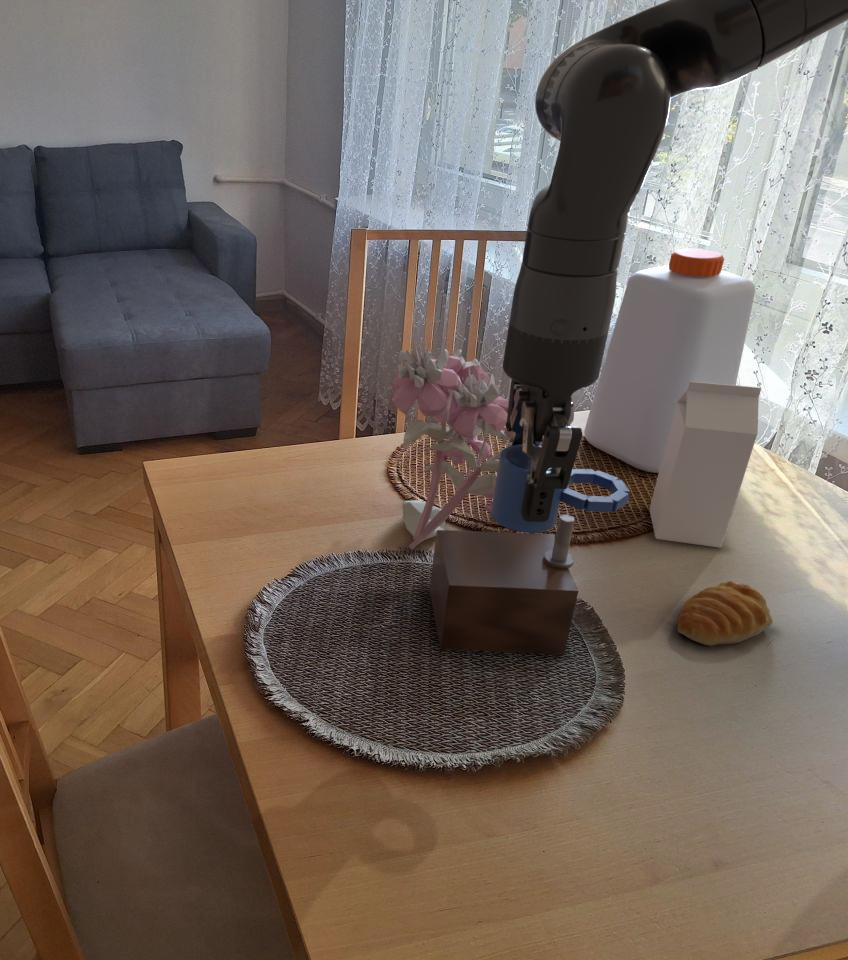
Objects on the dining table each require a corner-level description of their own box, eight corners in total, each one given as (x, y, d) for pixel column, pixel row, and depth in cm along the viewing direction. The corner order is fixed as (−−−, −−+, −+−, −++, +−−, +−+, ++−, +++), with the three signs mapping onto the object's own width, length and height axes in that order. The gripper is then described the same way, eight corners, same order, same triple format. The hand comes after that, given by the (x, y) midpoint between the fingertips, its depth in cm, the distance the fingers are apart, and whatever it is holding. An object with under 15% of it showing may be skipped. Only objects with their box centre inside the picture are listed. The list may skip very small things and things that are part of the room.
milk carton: (721, 549, 101) (768, 400, 91) (654, 539, 103) (694, 393, 93) (711, 518, 106) (754, 376, 97) (648, 510, 109) (685, 370, 99)
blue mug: (607, 502, 80) (621, 444, 77) (629, 537, 74) (644, 476, 71) (485, 499, 81) (494, 441, 78) (497, 533, 75) (508, 473, 72)
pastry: (718, 662, 84) (728, 631, 82) (655, 625, 89) (664, 595, 87) (774, 630, 88) (785, 599, 86) (711, 596, 93) (720, 567, 91)
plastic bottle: (655, 482, 115) (709, 275, 101) (569, 438, 127) (607, 247, 113) (733, 458, 120) (794, 258, 106) (644, 418, 132) (689, 234, 118)
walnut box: (548, 595, 94) (569, 492, 87) (571, 656, 85) (596, 547, 79) (429, 590, 95) (441, 488, 89) (440, 649, 86) (454, 541, 80)
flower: (561, 595, 91) (620, 363, 89) (352, 544, 96) (402, 324, 94) (538, 567, 111) (585, 376, 108) (365, 526, 116) (407, 343, 113)
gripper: (638, 353, 62) (592, 547, 70) (581, 294, 75) (548, 465, 83) (531, 351, 63) (498, 544, 71) (493, 293, 75) (469, 463, 84)
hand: (525, 500), depth 77 cm, fingers closed on blue mug, 5 cm apart
